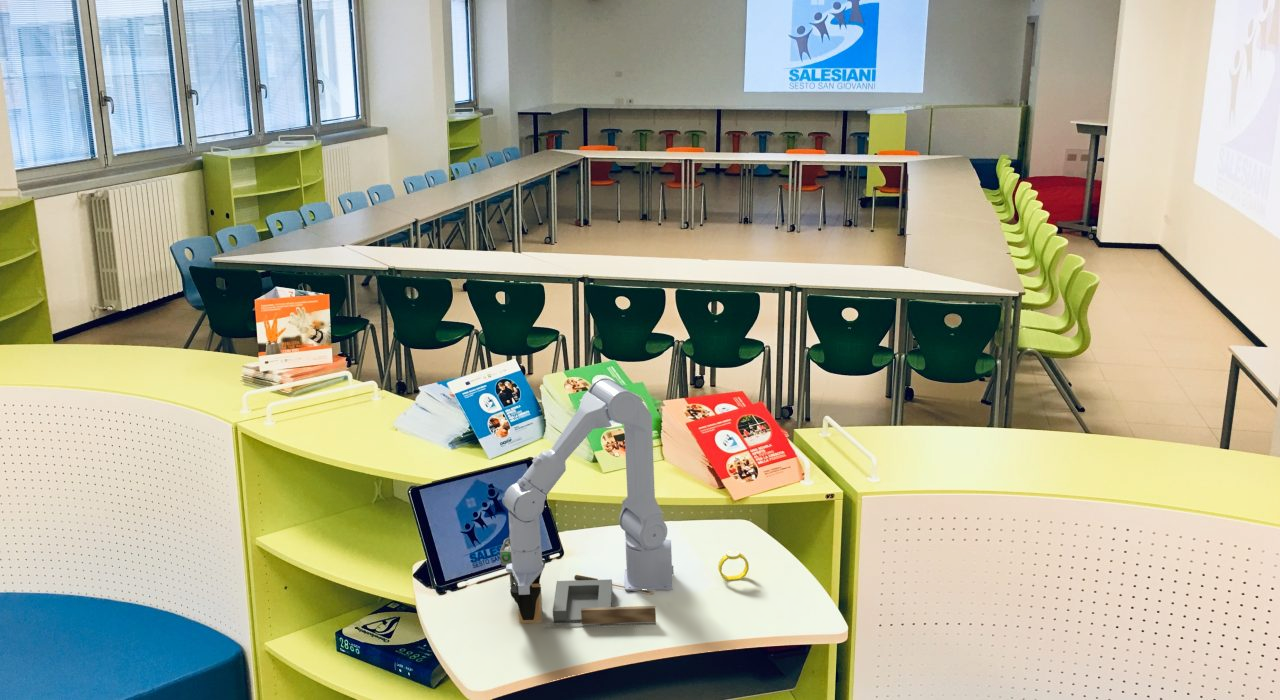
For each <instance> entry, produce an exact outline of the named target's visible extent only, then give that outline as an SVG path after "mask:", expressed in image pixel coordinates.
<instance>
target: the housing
mask: <svg viewBox="0 0 1280 700" xmlns="http://www.w3.org/2000/svg"><path fill="white" fill-rule="evenodd" d="M553 599H554V600H553V605H552V619H553V620H552V623H545V624H544V629H546V628H547V629H550V628H551V629H553V628H555V629H556V628H578V627H579V628H580V627H581V628H584V627H587V628H589V627H618V626H619V627H620V626H622V627H623V626H654V625H655V626H656V625H657V621H656V622H641V623H605V624H582V618H581V608H599V607H613V579H583V580H580V579H579V580H578V579H577V580H575V579H574V580H556V583H555V592H554V598H553Z"/></svg>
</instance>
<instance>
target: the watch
mask: <svg viewBox="0 0 1280 700" xmlns="http://www.w3.org/2000/svg"><path fill="white" fill-rule="evenodd" d="M738 559H742V560H743V561H744V563H745V566H744V568H743V570H742V571H741V572H740V573H739V574H737V575H735V574H734V575H725V574H724V573H723V572H722V569H723V565H724V563H725V562H726V561H728V560H738ZM718 562H719V563H718V568H717V569H718V572H719V573H720V576H721V577H722V579H723V580H725V581H727V582H729V581H738V580H742V579H744V578H745V577H746V575H747V574H748V572H749V570H750V569H749V565H750V564H749V562H748V559H747V558H746V557H745V556H744V554H742V553H741V552H740V550H737V549H730V550H728V551H726V553H725V555H723V556H722V557H721V559H720V561H718Z"/></svg>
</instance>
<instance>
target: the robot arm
mask: <svg viewBox="0 0 1280 700" xmlns="http://www.w3.org/2000/svg"><path fill="white" fill-rule="evenodd" d="M610 421H613V422H614V423H617V424H620V425H623V426H624V427H623V429H624V450H625V452H624V453H625V468H626V469H625V470H626V474H625V475H626V491H627V492H626V493H627V496H626V497H625V498H623V500H622V501H621V502H622V508H621V511H620V514H619V517H618V524H619V526H620V528H621V529H622V530H623V531H624V536H625V560H626V563H625V565H626V569H625V570H624V571H625V572H624V573H625V574H624V590H625V591H627V592H631V591H632V592H633V591H643V590H642V589H647V590H646V591H663V590H665V591H667V590H673V575H675V573H674V565H673V562H672V559H673V558H672V539H666V538H667V536H668V527H667V524H666V523H665V520H664V516H663V515H664V514H663V511H662V509H661V507H660V505H659V504H658V501H657V500H656V495H655V494H656V493H655V491H656V490H655V470H654V469H655V465H654V464H655V463H654V441H653V439H654V438H653V436H654V435H653V415H652V413H651V412H650V411H649V409H648V407H647V406H646V405H645V403H644V402H643V400H642V397H641V396H639V395H638V394H635V393H634V392H632V391H630V390H628V389H627V388H625V387H624V386H623V385H622V384H620V383H618V382H616V381H614V379H613V380H612V379H611V378H607V377H601V378H598V379H596V380H595V381H593V382H592V383H591V385H590V387H589V389H588V390H587V391H586V392H585V393H584V394H583V395H582V396H581V400H580V403H579V407H578V409H577V410H576V412H575V413H574V414H573V416H572V417H571V420H570V421H569V422H568V424H567V425H566V427H565V428H564V429H563V431H562V433H560V435H559V437H558V439H557V440H556V441H555V443H554V444H553V446H552V447H551V449H548V450H544V451H541V452H540V453H539V455H538V456H537V455H535V456H534V457H533V459H531V461H532V464H531V465H530V466H529V467H528V468H527V470H526V471H525V472H524V474H523V476H522V477H520V478H519V479H518V480H517V481H516V482H515V483H513V484H511V485H509V487H507V489H506V490H505V492H504V497H503V498H502V499H501V501H502V504H503V506H504V507H505V508H506V509H507V511H508V529H509V534H510V544H511V557H512V563H511V564H507V565H506V566H505V571H506V572H507V573H509V572H512V573H513V575H514V577H515V579H516V581H517V583H518V586H515V585H512V586H511V585H510V590H509V592H510V596H511V597H512V598H513V599H514V601H515V603H516V604H517V606H518V607H519V608H518V611H519V610H520V614H521V616H522V619H523V620H534V616H535V608H536V601H537V598H538V596H539V594H540V591H541V592H542V587H532V585H531V584H541V583H540V582H541V577H542V573H543V571H544V569H545V566H546V560H545V559H543V553H542V538H541V524H540V523H541V522H540V515H541V514H542V513H543V512H544V509H545V501H546V499H547V495H549V493H550V492H551V490H552V489H554V488H553V487H555V485H556V483H558V481H559V480H560V479H561V478H562V476H563V475H564V473H565V472H566V467H567V466H566V465H567V464H566V461H567V460H568V458H569V457H570V456H571V455H572V454H573V453H574V451H575V450H576V449H577V448H578V447H579V446H580V445H581V443H583V441H585V439H586V438H587V437H588V436H589V434H590V433H591V432H592V431H594V430H595V429H603V428H610V427H612V424H611V422H610Z"/></svg>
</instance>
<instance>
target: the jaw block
mask: <svg viewBox="0 0 1280 700" xmlns="http://www.w3.org/2000/svg"><path fill="white" fill-rule="evenodd" d="M531 585H532V587H541V583H539V584H531ZM541 588H542V587H541ZM542 600H543V599H542V590H541V591H540V594H539V596H538V598H537V601H536V608H535V616H534V620H523V619H522V616H521V614H520V610H519V607H518V620H519V623H520V624H522V623H541V621H542V615H543V604H542V603H543V601H542Z"/></svg>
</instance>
